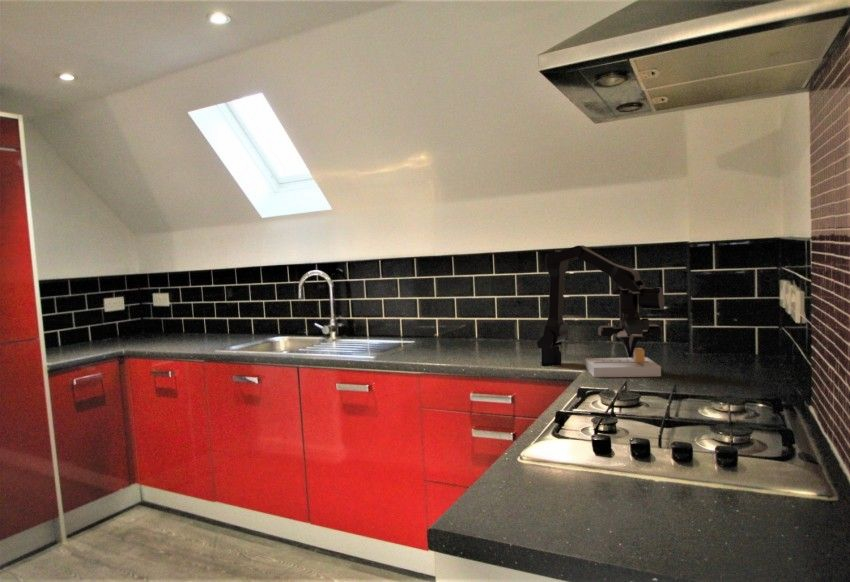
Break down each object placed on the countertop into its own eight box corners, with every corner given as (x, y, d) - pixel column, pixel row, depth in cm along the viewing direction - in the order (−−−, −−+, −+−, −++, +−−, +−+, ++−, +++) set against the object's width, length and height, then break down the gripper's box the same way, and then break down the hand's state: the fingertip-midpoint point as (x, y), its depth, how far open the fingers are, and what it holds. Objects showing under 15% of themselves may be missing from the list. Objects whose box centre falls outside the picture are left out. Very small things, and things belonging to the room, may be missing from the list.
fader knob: (636, 369, 186) (636, 350, 186) (633, 367, 190) (633, 348, 190) (644, 369, 186) (644, 350, 186) (641, 367, 190) (641, 347, 190)
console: (593, 377, 182) (593, 367, 182) (585, 367, 198) (585, 358, 198) (661, 376, 180) (660, 366, 180) (647, 366, 196) (647, 356, 195)
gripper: (603, 312, 180) (604, 362, 181) (666, 310, 178) (667, 361, 179) (597, 308, 191) (598, 356, 192) (656, 307, 189) (657, 355, 190)
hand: (630, 357), depth 188 cm, fingers closed
